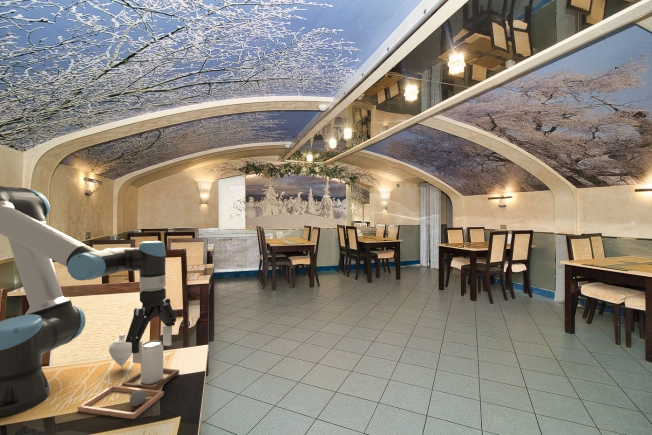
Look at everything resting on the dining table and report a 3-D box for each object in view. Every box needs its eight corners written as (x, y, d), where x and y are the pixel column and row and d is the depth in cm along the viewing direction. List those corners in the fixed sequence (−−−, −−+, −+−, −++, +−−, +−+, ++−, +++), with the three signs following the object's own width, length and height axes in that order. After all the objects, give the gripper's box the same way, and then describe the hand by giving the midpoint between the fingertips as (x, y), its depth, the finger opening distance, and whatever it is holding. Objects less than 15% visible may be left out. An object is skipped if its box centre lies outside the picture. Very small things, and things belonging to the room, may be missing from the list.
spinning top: (118, 363, 117) (119, 330, 117) (139, 363, 116) (139, 330, 116) (103, 373, 109) (103, 338, 109) (125, 374, 109) (125, 338, 109)
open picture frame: (77, 411, 88) (77, 406, 88) (113, 389, 99) (113, 385, 99) (133, 419, 85) (133, 414, 85) (163, 395, 96) (163, 391, 96)
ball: (126, 408, 89) (126, 393, 89) (137, 400, 93) (137, 386, 93) (138, 409, 89) (138, 395, 89) (149, 401, 93) (149, 387, 93)
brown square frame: (122, 387, 100) (122, 383, 100) (149, 370, 112) (149, 366, 112) (155, 391, 98) (155, 387, 98) (179, 373, 110) (179, 369, 110)
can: (153, 386, 101) (153, 348, 101) (135, 383, 102) (136, 346, 102) (167, 376, 107) (167, 340, 107) (150, 374, 109) (151, 338, 109)
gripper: (133, 298, 92) (134, 372, 92) (186, 281, 116) (186, 339, 116) (111, 297, 93) (111, 370, 93) (168, 280, 118) (168, 338, 118)
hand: (153, 353), depth 105 cm, fingers open, 13 cm apart
